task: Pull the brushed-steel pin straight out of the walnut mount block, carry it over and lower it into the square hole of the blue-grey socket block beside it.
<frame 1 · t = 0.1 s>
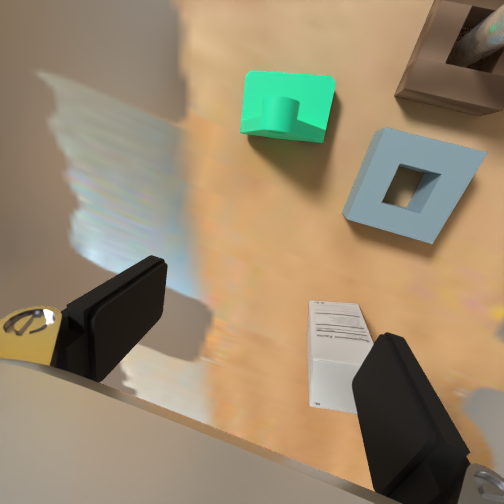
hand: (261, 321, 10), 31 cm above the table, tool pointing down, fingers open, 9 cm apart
camera mount: (286, 110, 34), on the table
walnut mount block: (461, 54, 28), on the table
socket block: (397, 186, 34), on the table
supplement box: (331, 320, 45), on the table
steel pin: (461, 54, 28), resting in walnut mount block
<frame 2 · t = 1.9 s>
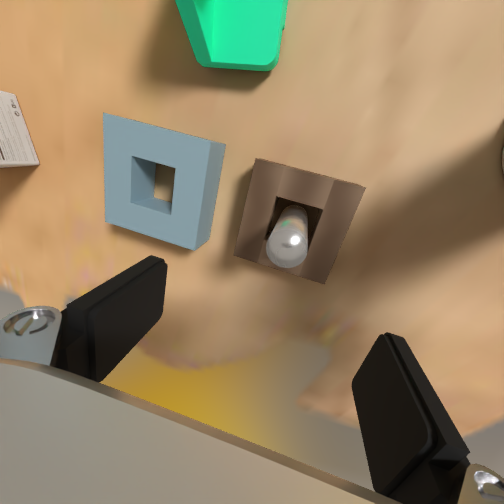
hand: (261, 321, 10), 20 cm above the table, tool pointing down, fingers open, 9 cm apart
walnut mount block: (293, 218, 28), on the table
socket block: (173, 183, 30), on the table
supplement box: (7, 134, 33), on the table
steel pin: (293, 218, 28), resting in walnut mount block
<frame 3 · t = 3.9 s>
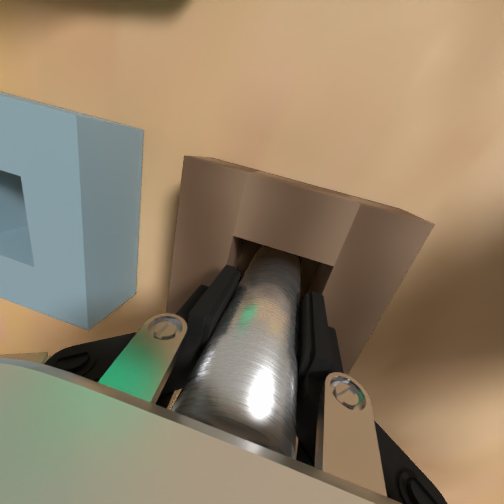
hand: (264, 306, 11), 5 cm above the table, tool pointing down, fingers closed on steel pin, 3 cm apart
walnut mount block: (276, 266, 15), on the table
socket block: (65, 200, 17), on the table
steel pin: (276, 266, 15), resting in walnut mount block, touching gripper
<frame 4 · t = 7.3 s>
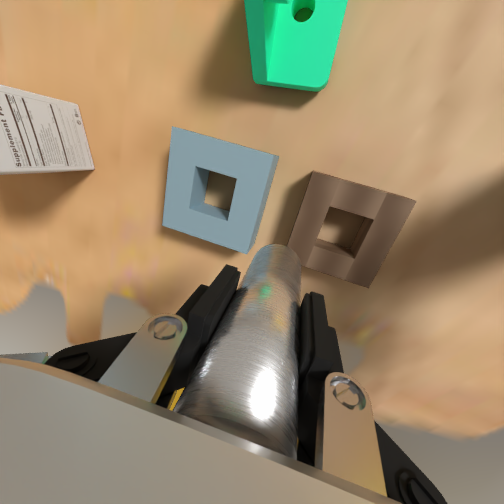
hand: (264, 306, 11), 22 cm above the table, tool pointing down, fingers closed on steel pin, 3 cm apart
camera mount: (303, 23, 24), on the table
walnut mount block: (339, 225, 30), on the table
socket block: (224, 190, 32), on the table
supplement box: (65, 140, 35), on the table
steel pin: (276, 266, 15), point 17 cm above the table, touching gripper
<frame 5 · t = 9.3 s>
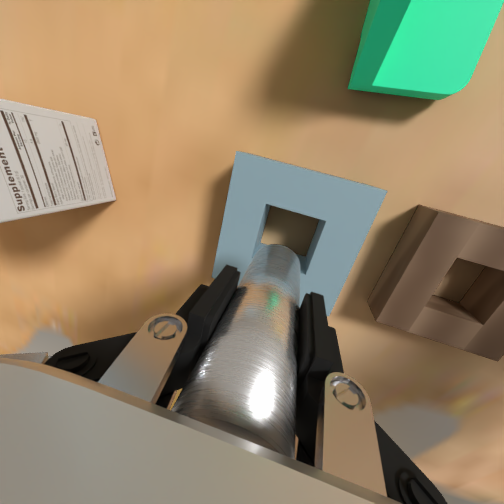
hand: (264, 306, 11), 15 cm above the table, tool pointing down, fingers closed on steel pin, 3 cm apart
camera mount: (423, 4, 17), on the table
walnut mount block: (447, 274, 23), on the table
socket block: (289, 227, 24), on the table
supplement box: (78, 164, 27), on the table
steel pin: (275, 267, 15), point 10 cm above the table, touching gripper
when the fingers open (6 cm above the table, at t = 11.1 s): steel pin drops 1 cm, resting in socket block.
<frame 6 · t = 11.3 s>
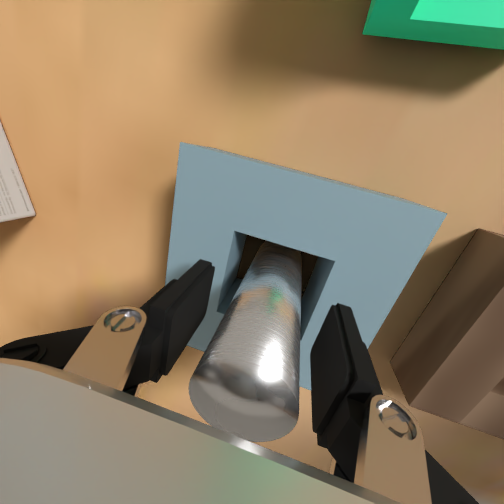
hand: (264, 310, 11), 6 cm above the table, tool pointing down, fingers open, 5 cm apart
socket block: (278, 258, 17), on the table
steel pin: (279, 258, 17), resting in socket block
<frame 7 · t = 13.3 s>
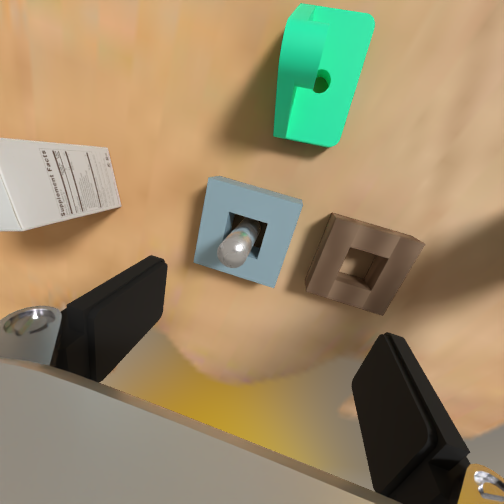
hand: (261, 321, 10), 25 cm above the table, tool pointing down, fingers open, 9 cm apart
camera mount: (317, 89, 28), on the table
walnut mount block: (354, 259, 34), on the table
socket block: (249, 227, 35), on the table
supplement box: (92, 179, 36), on the table
steel pin: (249, 227, 35), resting in socket block
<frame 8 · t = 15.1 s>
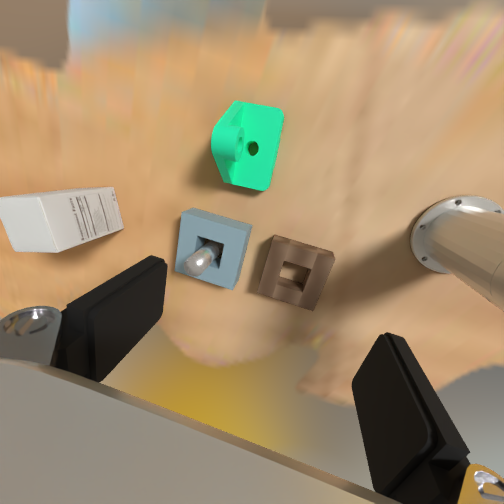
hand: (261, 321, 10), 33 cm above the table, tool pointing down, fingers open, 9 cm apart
camera mount: (255, 149, 39), on the table
walnut mount block: (294, 268, 45), on the table
socket block: (216, 244, 46), on the table
supplement box: (102, 208, 49), on the table
steel pin: (217, 245, 46), resting in socket block
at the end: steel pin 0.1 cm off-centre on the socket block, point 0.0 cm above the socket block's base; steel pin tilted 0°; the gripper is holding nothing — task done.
